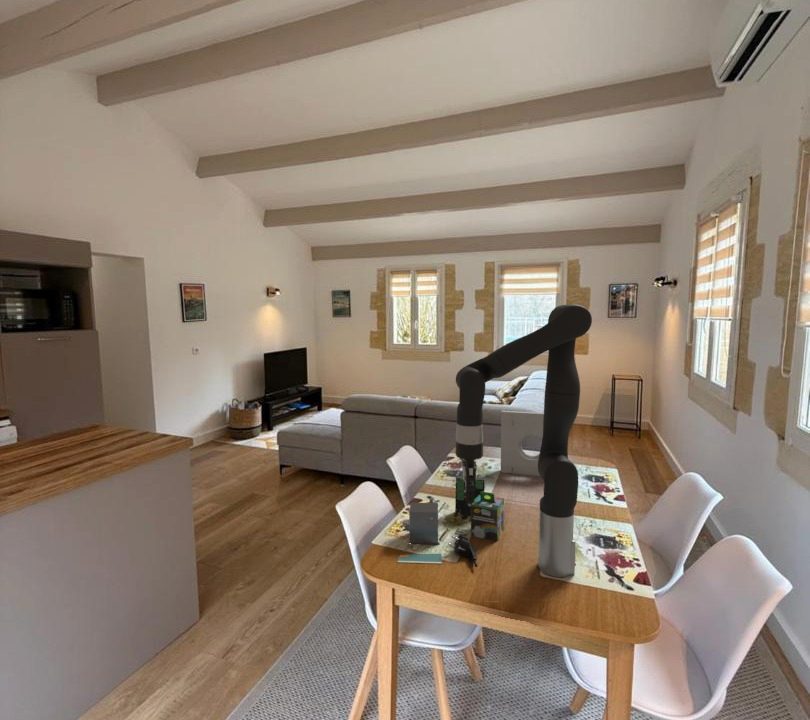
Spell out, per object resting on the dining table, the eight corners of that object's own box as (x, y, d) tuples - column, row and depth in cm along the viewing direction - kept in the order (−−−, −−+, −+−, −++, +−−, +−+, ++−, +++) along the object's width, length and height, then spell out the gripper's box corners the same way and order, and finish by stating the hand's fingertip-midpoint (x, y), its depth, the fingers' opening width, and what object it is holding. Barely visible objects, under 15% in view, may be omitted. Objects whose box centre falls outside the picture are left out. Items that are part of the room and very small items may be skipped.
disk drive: (484, 516, 158) (484, 477, 157) (484, 520, 156) (484, 480, 154) (455, 514, 160) (455, 475, 159) (455, 517, 158) (455, 478, 156)
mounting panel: (500, 479, 195) (500, 412, 192) (500, 475, 200) (501, 410, 197) (563, 485, 187) (565, 416, 184) (563, 480, 192) (565, 413, 189)
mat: (441, 548, 137) (441, 547, 137) (441, 564, 128) (441, 563, 128) (399, 547, 138) (399, 546, 138) (397, 563, 129) (397, 561, 129)
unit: (439, 534, 146) (439, 502, 145) (439, 546, 138) (439, 513, 137) (409, 533, 147) (409, 501, 146) (408, 545, 139) (407, 512, 138)
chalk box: (504, 531, 148) (505, 488, 146) (497, 543, 140) (498, 499, 138) (478, 525, 152) (478, 484, 150) (469, 537, 144) (470, 493, 142)
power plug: (483, 558, 124) (474, 537, 136) (459, 547, 124) (452, 527, 136) (474, 575, 125) (465, 553, 137) (450, 565, 124) (444, 543, 136)
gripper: (486, 447, 113) (485, 507, 115) (480, 433, 128) (479, 486, 129) (456, 447, 114) (456, 506, 116) (454, 432, 128) (454, 486, 130)
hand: (468, 496), depth 122 cm, fingers open, 8 cm apart
